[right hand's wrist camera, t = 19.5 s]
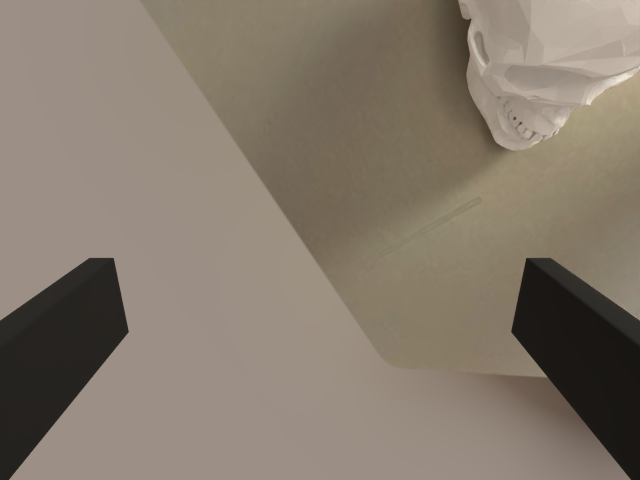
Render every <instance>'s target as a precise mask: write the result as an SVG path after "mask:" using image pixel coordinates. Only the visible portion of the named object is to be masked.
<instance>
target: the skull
mask: <svg viewBox="0 0 640 480" xmlns="http://www.w3.org/2000/svg"><path fill="white" fill-rule="evenodd" d="M458 2H459V6H460V9H461V14H462V17H463V18H464V19H467V20H469V19H471V23H470V27H469V30H468V39H467V40H468V46H469V51H470V58H469V63H468V68H467V72H466V75H467V82H468V88H469V92H470V94H471V96H472V99H473V101H474V103H475V104H476V106H477V108H478V109H479V111H480V112H481V114H482V116H483V117H484V119H485V121H486V122H487V125H488V127H489V129H490V131H491V133H492V136H493V138H494V140H495V141H496V143H498V144H499V145H501V146H503V147H505V148H507V149H510V150H512V151H518V150H525V149H528V148H530V147H532V146H533V145H535V144H537V143H538V142H539V141H540V140H541V139H542V138H543V139H542V140H541V142H542V141H544V140H546V139H548V138H550V137H551V136H552V135H556V134H557V133H558V131H559V128H560V127H562V126H563V125H564V123H565V122H566V121H567V119H568V117H569V115H570V114H571V112H572V111H573V110H574V109H576V108H577V107H583V106H589V105H590V104H591V102H592V101H593V99H595V98H596V97H597V96H598V95H600V94H601V93H602V92H604V91H606V90H608V89H611V88H613V87H615V86H617V85H619V84H621V83H622V82H624V81H626V80H627V79H629V78H630V77H632V76H634V75H635V74H636V73H637V72H638V70H639V69H640V0H458ZM514 117H516V119H515V120H514ZM520 122H522V124H521V125H519V124H520ZM526 128H527V129H528V130H526V131H525V132H523V131H524V130H525V129H526Z"/></svg>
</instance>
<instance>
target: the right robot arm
mask: <svg viewBox="0 0 640 480" xmlns="http://www.w3.org/2000/svg"><path fill="white" fill-rule="evenodd" d="M128 332H129V331H128V326H127V321H126V316H125V311H124V307H123V302H122V297H121V292H120V287H119V282H118V277H117V272H116V267H115V262H114V258H89V259H87V260H86V261H85V262H83V263H82V264H80V265H79V266H78V267H76V268H75V269H73V270H72V271H70V272H69V273H68V274H66V275H65V276H63V277H62V278H60V279H59V280H58V281H56V282H55V283H53V284H52V285H51V286H49V287H48V288H46V289H45V290H43V291H42V292H40V293H39V294H38V295H36V296H35V297H33V298H32V299H30V300H29V301H28V302H26V303H25V304H23V305H22V306H21V307H19V308H18V309H16V310H15V311H13V312H12V313H11V314H9V315H8V316H6V317H5V318H3V319H2V320H1V321H0V480H9V479H10V478H11V476H12V475H13V474H14V473H15V472H16V470H17V469H18V468H19V467H20V465H21V464H22V463H23V462H24V460H25V459H26V458H27V457H28V456H29V454H30V453H31V452H32V451H33V449H34V448H35V447H36V446H37V444H38V443H39V442H40V441H41V439H42V438H43V437H44V436H45V435H46V433H47V432H48V431H49V430H50V428H51V427H52V426H53V425H54V423H55V422H56V421H57V420H58V419H59V417H60V416H61V415H62V414H63V412H64V411H65V410H66V409H67V407H68V406H69V405H70V404H71V403H72V401H73V400H74V399H75V398H76V396H77V395H78V394H79V393H80V391H81V390H82V389H83V388H84V386H85V385H86V384H87V383H88V381H89V380H90V379H91V378H92V377H93V375H94V374H95V373H96V372H97V370H98V369H99V368H100V367H101V366H102V364H103V363H104V362H105V361H106V359H107V358H108V357H109V356H110V354H111V353H112V352H113V351H114V350H115V348H116V347H117V346H118V345H119V343H120V342H121V341H122V340H123V338H124V337H125V336H126V335H127V333H128ZM511 332H512V333H513V335H514V336H515V337H516V338H517V340H518V341H519V342H520V343H521V345H522V346H523V347H524V348H525V350H526V351H527V352H528V353H529V354H530V356H531V357H532V358H533V359H534V361H535V362H536V363H537V364H538V366H539V367H540V368H541V369H542V370H543V372H544V373H545V374H546V375H547V377H548V378H549V379H550V380H551V382H552V383H553V384H554V385H555V386H556V388H557V389H558V390H559V391H560V393H561V394H562V395H563V396H564V397H565V399H566V400H567V401H568V403H569V404H570V405H571V406H572V407H573V409H574V410H575V411H576V412H577V414H578V415H579V416H580V417H581V419H582V420H583V421H584V422H585V423H586V425H587V426H588V427H589V428H590V430H591V431H592V432H593V433H594V435H595V436H596V437H597V438H598V439H599V441H600V442H601V443H602V444H603V446H604V447H605V448H606V449H607V451H608V452H609V453H610V454H611V456H612V457H613V458H614V459H615V460H616V462H617V463H618V464H619V465H620V467H621V468H622V469H623V470H624V472H625V473H626V474H627V475H628V476H629V478H630V479H631V480H640V321H639V320H638V319H637V318H635V317H634V316H632V315H631V314H629V313H628V312H627V311H625V310H624V309H622V308H621V307H619V306H618V305H617V304H615V303H614V302H612V301H611V300H610V299H608V298H607V297H605V296H604V295H602V294H601V293H600V292H598V291H597V290H595V289H594V288H592V287H591V286H590V285H588V284H587V283H585V282H584V281H582V280H581V279H580V278H578V277H577V276H575V275H574V274H572V273H571V272H570V271H568V270H567V269H565V268H564V267H563V266H561V265H560V264H558V263H557V262H555V261H554V260H553V259H551V258H526V262H525V267H524V272H523V277H522V282H521V287H520V292H519V297H518V302H517V306H516V311H515V316H514V321H513V326H512V331H511Z"/></svg>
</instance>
